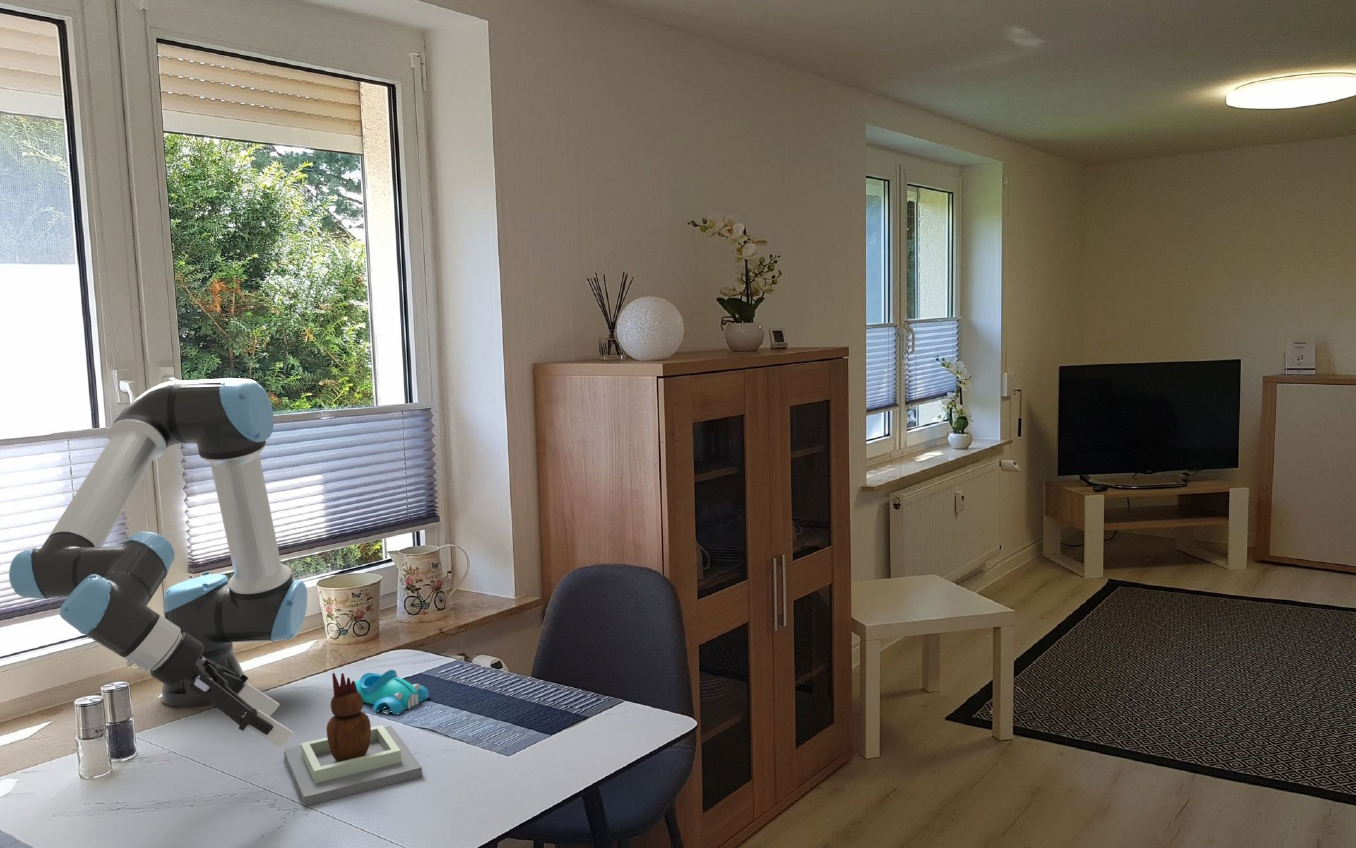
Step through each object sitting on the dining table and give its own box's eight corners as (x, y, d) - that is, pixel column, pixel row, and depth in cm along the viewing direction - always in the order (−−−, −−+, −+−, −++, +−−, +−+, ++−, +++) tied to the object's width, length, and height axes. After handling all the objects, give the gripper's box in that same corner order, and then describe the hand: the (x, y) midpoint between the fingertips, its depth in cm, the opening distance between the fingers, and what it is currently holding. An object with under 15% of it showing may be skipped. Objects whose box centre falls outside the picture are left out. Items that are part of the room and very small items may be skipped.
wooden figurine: (330, 769, 162) (323, 679, 160) (327, 755, 167) (320, 668, 166) (374, 760, 165) (367, 672, 163) (370, 747, 170) (363, 661, 168)
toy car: (394, 719, 187) (392, 684, 186) (325, 704, 195) (322, 671, 195) (434, 699, 196) (432, 665, 195) (367, 685, 205) (364, 653, 204)
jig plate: (284, 758, 170) (282, 738, 170) (391, 733, 179) (390, 714, 179) (304, 806, 153) (302, 784, 153) (422, 776, 162) (421, 755, 161)
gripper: (144, 650, 161) (253, 719, 170) (151, 698, 139) (275, 774, 148) (178, 611, 163) (284, 682, 172) (190, 653, 141) (310, 731, 150)
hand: (280, 725), depth 160 cm, fingers open, 13 cm apart
